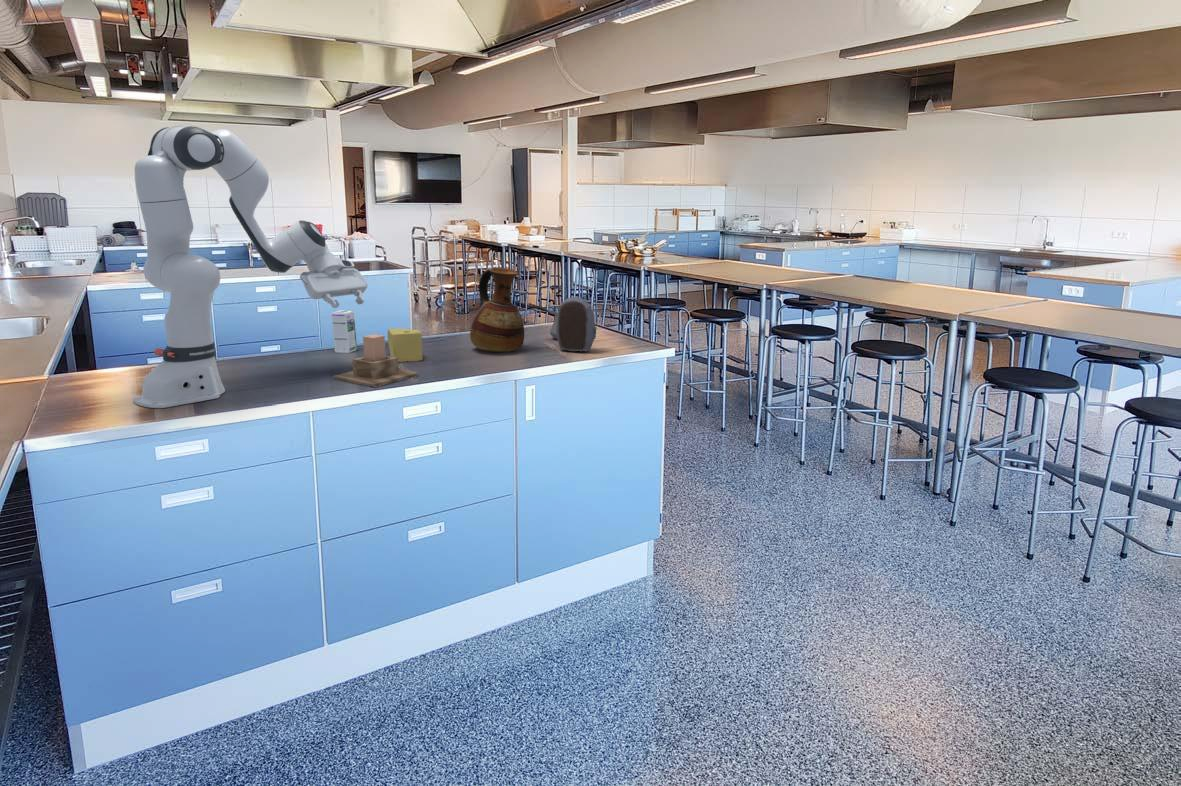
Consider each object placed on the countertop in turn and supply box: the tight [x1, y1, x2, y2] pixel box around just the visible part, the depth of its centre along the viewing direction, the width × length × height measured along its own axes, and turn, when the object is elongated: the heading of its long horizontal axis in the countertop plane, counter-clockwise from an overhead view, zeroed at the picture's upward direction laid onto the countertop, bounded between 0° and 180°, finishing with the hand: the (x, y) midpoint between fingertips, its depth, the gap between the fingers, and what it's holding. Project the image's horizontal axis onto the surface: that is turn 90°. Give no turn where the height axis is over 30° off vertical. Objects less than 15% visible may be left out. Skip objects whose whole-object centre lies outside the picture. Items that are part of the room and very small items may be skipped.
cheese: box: [387, 327, 423, 363], centre depth 253 cm, size 10×11×10 cm
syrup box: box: [331, 309, 358, 354], centre depth 262 cm, size 6×6×14 cm
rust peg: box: [362, 333, 387, 362], centre depth 227 cm, size 4×4×12 cm
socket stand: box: [332, 355, 419, 388], centre depth 228 cm, size 18×18×6 cm
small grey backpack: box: [556, 296, 597, 353], centre depth 269 cm, size 15×8×20 cm, turn 72°
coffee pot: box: [526, 302, 560, 340], centre depth 289 cm, size 21×12×15 cm, turn 115°
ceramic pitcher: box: [469, 267, 525, 353], centre depth 267 cm, size 20×20×30 cm
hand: (349, 304), depth 228 cm, fingers open, 8 cm apart
